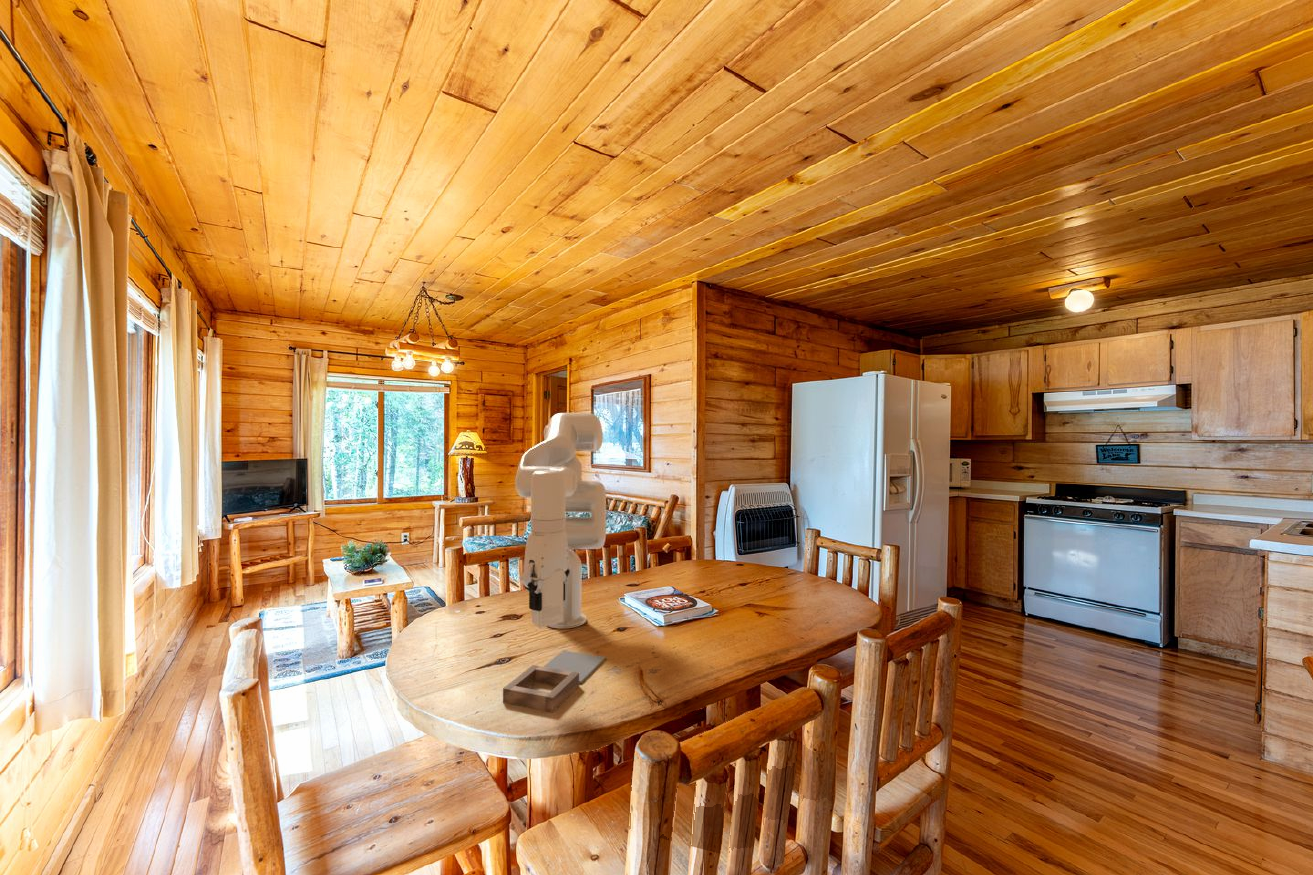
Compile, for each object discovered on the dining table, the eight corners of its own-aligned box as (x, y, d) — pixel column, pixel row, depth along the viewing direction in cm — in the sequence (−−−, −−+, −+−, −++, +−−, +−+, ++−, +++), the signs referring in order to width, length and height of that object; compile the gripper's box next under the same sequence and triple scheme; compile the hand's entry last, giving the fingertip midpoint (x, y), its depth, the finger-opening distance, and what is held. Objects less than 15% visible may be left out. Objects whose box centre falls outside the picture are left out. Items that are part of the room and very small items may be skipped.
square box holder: (502, 702, 116) (503, 688, 115) (532, 677, 127) (532, 664, 127) (552, 712, 112) (553, 697, 112) (579, 685, 123) (579, 672, 123)
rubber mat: (535, 675, 128) (535, 673, 128) (563, 652, 141) (563, 650, 141) (580, 683, 124) (580, 681, 124) (605, 659, 137) (605, 656, 137)
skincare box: (555, 617, 125) (555, 565, 124) (564, 623, 121) (564, 569, 121) (530, 622, 121) (530, 569, 121) (538, 629, 117) (539, 573, 117)
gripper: (560, 518, 130) (560, 591, 130) (506, 530, 115) (506, 613, 115) (585, 521, 126) (585, 597, 127) (533, 534, 111) (532, 620, 112)
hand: (547, 604), depth 121 cm, fingers closed on skincare box, 7 cm apart
